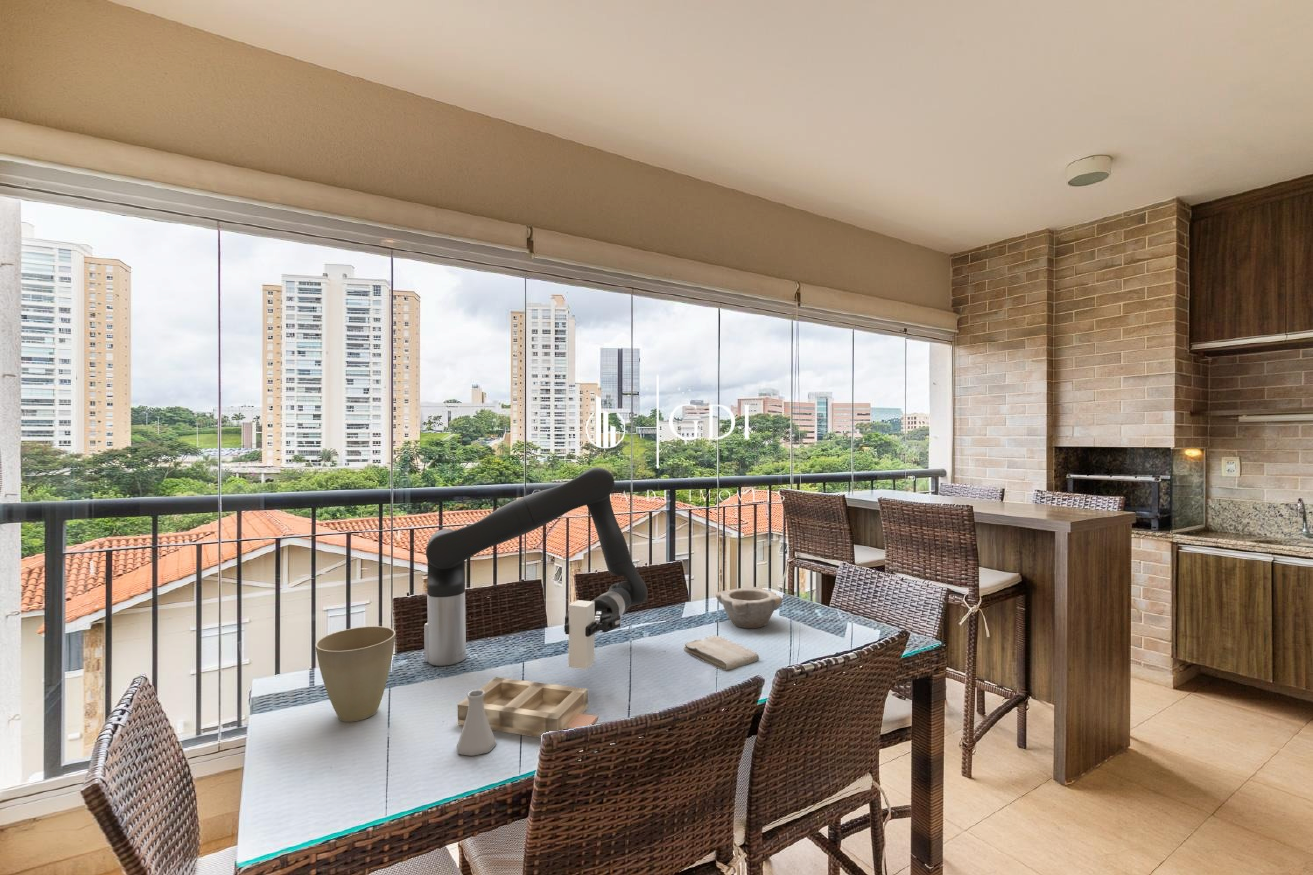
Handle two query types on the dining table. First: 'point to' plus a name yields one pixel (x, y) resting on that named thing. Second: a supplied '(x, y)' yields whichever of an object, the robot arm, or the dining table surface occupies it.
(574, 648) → the plug peg
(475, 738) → the flask
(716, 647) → the washcloth
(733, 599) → the mortar
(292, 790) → the dining table surface
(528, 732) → the socket block
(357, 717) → the plant pot
